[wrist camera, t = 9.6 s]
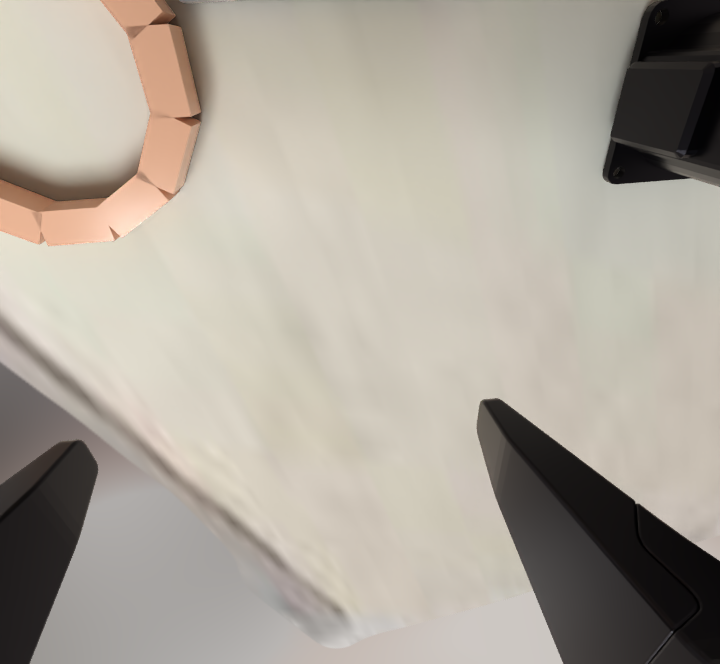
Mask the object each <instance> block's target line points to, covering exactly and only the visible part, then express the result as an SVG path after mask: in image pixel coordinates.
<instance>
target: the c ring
mask: <svg viewBox="0 0 720 664" xmlns="http://www.w3.org/2000/svg"><path fill="white" fill-rule="evenodd" d="M100 1H101V2H102V3H103V4H104V6H105V7H106V8H107V9H108V11H109V12H110V13H111V14H112V16H113V17H114V18H115V19H116V21H117V22H118V23H119V24H120V26H121V27H122V28H123V29H124V31H125V32H126V33H127V35H128V39H129V42H130V45H131V49H132V52H133V56H134V59H135V62H136V66H137V69H138V73H139V76H140V79H141V83H142V86H143V89H144V93H145V96H146V100H147V103H148V106H149V110H150V117H149V122H148V126H147V131H146V135H145V140H144V145H143V149H142V154H141V158H140V163H139V168H138V172H137V174H136V175H135V176H134V177H132V178H131V179H130V180H129V181H128V182H126V183H125V184H124V185H123V186H122V187H120V188H119V189H118V190H117V191H116V192H114V193H113V194H112V195H111V196H110V197H108V198H96V199H83V200H69V201H55V200H52V199H49V198H47V197H44V196H42V195H39V194H37V193H34V192H32V191H29V190H26V189H24V188H21V187H19V186H16V185H14V184H11V183H9V182H6V181H3V180H1V179H0V231H2V232H5V233H8V234H11V235H13V236H16V237H19V238H22V239H25V240H27V241H30V242H33V243H36V244H41V243H42V242H44V241H45V240H46V242H47V245H48V246H55V245H68V244H80V243H93V242H105V241H115V240H116V239H117V238H118V237H121V238H123V237H124V236H125V235H127V234H128V233H129V232H130V231H132V230H133V229H134V228H135V227H137V226H138V225H139V224H140V223H142V222H143V221H144V220H146V219H147V218H148V217H149V216H151V215H152V214H153V213H154V212H156V211H157V210H158V209H159V208H161V207H162V206H163V205H165V204H166V203H167V202H168V201H170V200H171V199H172V198H173V197H174V196H175V195H176V194H177V193H178V192H179V189H180V188H181V187H182V186H183V185H184V182H185V178H186V175H187V171H188V168H189V164H190V160H191V157H192V153H193V150H194V146H195V142H196V139H197V135H198V132H199V128H200V124H201V121H199V120H197V119H194V118H192V117H190V116H194V115H196V114H198V113H201V109H200V105H199V101H198V96H197V92H196V88H195V84H194V79H193V75H192V71H191V67H190V62H189V58H188V54H187V49H186V45H185V41H184V37H183V32H182V28H181V27H178V26H174V25H170V24H168V23H169V22H170V21H171V20H172V19H173V18H174V17H175V16H176V15H175V14H174V12H173V11H172V10H171V8H170V7H169V5H168V4H167V3H166V1H165V0H100Z"/></svg>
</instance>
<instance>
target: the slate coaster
mask: <svg viewBox="0 0 720 664" xmlns="http://www.w3.org/2000/svg"><path fill="white" fill-rule="evenodd" d="M179 1H180V2H182V3H184V4H188V3H205V2H222V1H239V0H179Z"/></svg>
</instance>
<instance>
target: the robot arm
mask: <svg viewBox="0 0 720 664" xmlns="http://www.w3.org/2000/svg"><path fill="white" fill-rule="evenodd" d="M659 11H661V13H662V16H661V19H660V21H659V23H658V24H657V25H656V23H655V17H656V15H657V13H658V12H659ZM611 137H612V138H611V142H610V146H609V150H608V154H607V158H606V162H605V165H604V169H603V178H604V180H606V181H607V182H609V183H612V184H625V183H637V182H650V181H663V180H676V179H688V178H693V179H696V180H699V181H703V182H706V183H709V184H712V185H715V186H719V187H720V0H662V1H658V2H654V3H653V4H652V5H650V6H649V7H648V8H647V10H646V11H645V12H644V15H643V17H642V20H641V24H640V28H639V32H638V36H637V40H636V44H635V48H634V52H633V56H632V60H631V63H630V67H629V68H628V69H627V72H626V76H625V80H624V84H623V88H622V91H621V95H620V99H619V103H618V107H617V111H616V115H615V119H614V123H613V127H612V131H611ZM618 167H619V172H618V173H617V174H616V175H615V176H613V173H614V171H615V169H617V168H618ZM477 434H478V438H479V441H480V445H481V448H482V452H483V455H484V459H485V462H486V466H487V470H488V473H489V477H490V480H491V484H492V487H493V490H494V494H495V497H496V499H497V502H498V505H499V507H500V510H501V512H502V515H503V517H504V519H505V522H506V524H507V527H508V529H509V532H510V534H511V537H512V539H513V542H514V544H515V546H516V549H517V551H518V554H519V556H520V559H521V561H522V564H523V566H524V568H525V571H526V573H527V576H528V578H529V581H530V583H531V586H532V588H533V591H534V593H535V595H536V598H537V600H538V603H539V605H540V607H541V610H542V613H543V615H544V617H545V620H546V622H547V625H548V627H549V629H550V632H551V635H552V637H553V639H554V642H555V644H556V647H557V649H558V652H559V654H560V657H561V659H562V661H563V664H720V561H719V560H717V559H716V558H714V557H713V556H712V555H710V554H708V553H707V552H706V551H704V550H702V549H701V548H700V547H698V546H697V545H695V544H694V543H692V542H691V541H689V540H688V539H686V538H685V537H684V536H682V535H681V534H679V533H678V532H677V531H675V530H674V529H673V528H671V527H670V526H668V525H667V524H666V523H664V522H663V521H661V520H660V519H659V518H657V517H656V516H655V515H653V514H652V513H651V512H649V511H648V510H647V509H645V508H644V507H643V506H641V505H640V504H635V501H634V500H633V499H632V498H631V497H629V496H628V495H627V494H625V493H624V492H623V491H621V490H620V489H619V488H617V487H616V486H615V485H613V484H612V483H611V482H609V481H608V480H607V479H605V478H604V477H603V476H601V475H600V474H599V473H597V472H596V471H595V470H593V469H592V468H591V467H590V466H588V465H587V464H586V463H584V462H583V461H582V460H580V459H579V458H578V457H576V456H575V455H574V454H572V453H571V452H570V451H568V450H567V449H566V448H564V447H563V446H562V445H560V444H559V443H558V442H556V441H555V440H554V439H552V438H551V437H550V436H548V435H547V434H546V433H544V432H543V431H542V430H540V429H539V428H538V427H537V426H535V425H534V424H533V423H531V422H530V421H529V420H527V419H526V418H525V417H523V416H522V415H521V414H519V413H518V412H517V411H515V410H514V409H513V408H511V407H510V406H509V405H507V404H506V403H505V402H503V401H502V400H500V399H498V398H495V399H484V400H482V401H481V402H480V405H479V412H478V420H477ZM97 474H98V465H97V462H96V460H95V458H94V457H93V455H92V454H91V452H90V450H89V449H88V447H87V445H86V444H85V442H84V441H82V440H79V439H76V440H66V441H61V442H59V443H57V444H56V445H54V446H53V447H52V448H51V449H49V450H48V451H46V452H45V453H43V454H42V455H41V456H39V457H38V458H37V459H35V460H34V461H32V462H31V463H30V464H28V465H27V466H26V467H24V468H23V469H21V470H20V471H19V472H17V473H16V474H15V475H13V476H12V477H11V478H9V479H8V480H6V481H5V482H4V483H2V484H1V485H0V664H30V661H31V659H32V656H33V654H34V651H35V649H36V646H37V644H38V641H39V639H40V636H41V633H42V631H43V629H44V626H45V624H46V621H47V618H48V616H49V614H50V611H51V608H52V606H53V604H54V601H55V598H56V596H57V593H58V591H59V588H60V586H61V583H62V581H63V578H64V576H65V573H66V571H67V568H68V566H69V563H70V561H71V558H72V556H73V553H74V551H75V548H76V545H77V543H78V540H79V537H80V534H81V530H82V527H83V524H84V520H85V517H86V513H87V510H88V506H89V503H90V499H91V495H92V492H93V488H94V485H95V481H96V478H97Z"/></svg>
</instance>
